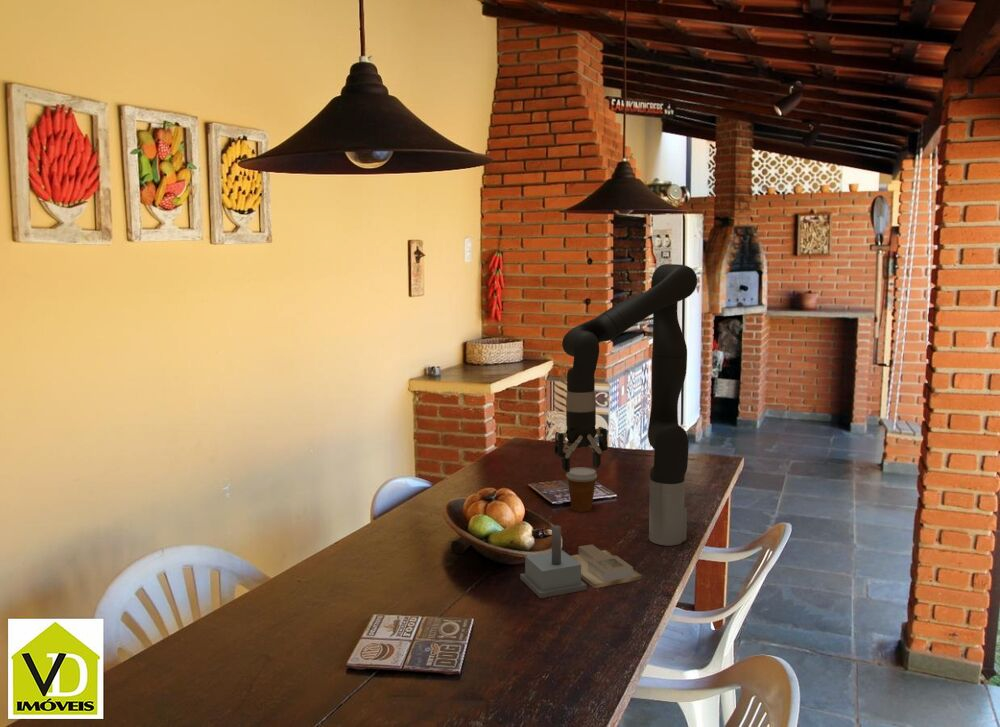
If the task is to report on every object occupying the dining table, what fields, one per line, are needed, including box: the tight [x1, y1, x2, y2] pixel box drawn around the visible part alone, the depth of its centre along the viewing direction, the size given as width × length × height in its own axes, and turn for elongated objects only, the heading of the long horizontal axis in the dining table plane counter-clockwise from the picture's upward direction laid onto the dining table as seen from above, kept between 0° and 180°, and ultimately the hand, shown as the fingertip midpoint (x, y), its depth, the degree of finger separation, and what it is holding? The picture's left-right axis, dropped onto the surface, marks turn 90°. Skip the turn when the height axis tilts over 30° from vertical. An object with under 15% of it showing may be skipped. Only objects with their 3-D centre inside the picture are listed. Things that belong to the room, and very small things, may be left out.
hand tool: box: [450, 536, 471, 555], centre depth 217 cm, size 19×4×5 cm, turn 151°
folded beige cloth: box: [570, 549, 643, 589], centre depth 197 cm, size 13×18×1 cm
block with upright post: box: [519, 524, 588, 599], centre depth 188 cm, size 12×12×15 cm
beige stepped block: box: [577, 544, 634, 582], centre depth 196 cm, size 17×8×2 cm, turn 21°
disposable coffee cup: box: [565, 466, 598, 513], centre depth 243 cm, size 10×10×12 cm
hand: (581, 469), depth 204 cm, fingers open, 8 cm apart
